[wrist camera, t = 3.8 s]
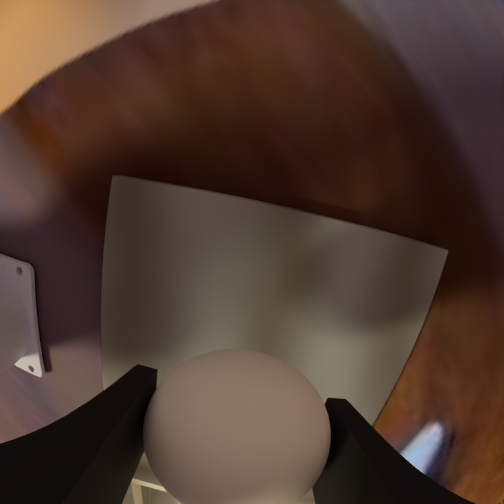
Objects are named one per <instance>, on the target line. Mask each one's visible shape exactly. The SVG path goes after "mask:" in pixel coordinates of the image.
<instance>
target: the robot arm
mask: <svg viewBox="0 0 504 504" xmlns="http://www.w3.org/2000/svg"><path fill="white" fill-rule="evenodd" d="M20 268H21V270H22V272H21V270H20ZM13 365H16V366H18V367H20V368H21V369H23V370H25V371H27V372H29V373H32V374H34V375H36V376H38V377H42V376H43V375H44V374H45V369H44V364H43V358H42V352H41V345H40V338H39V330H38V320H37V310H36V297H35V277H34V269H33V267H32V266H31V265H30V264H29V263H26V262H23V261H20V260H17V259H14V258H11V257H8V256H6V255H3V254H0V378H1V377H2V376H3V375H4V374H5V373H6V372H7V371H8V370H9V369H10V368H11V367H12V366H13ZM157 373H158V369H155V368H151V367H147V366H143V365H140V364H137V365H135V366H134V367H133V368H131V369H130V370H129V371H128V372H127V373H125V374H124V375H123V376H122V377H120V378H119V379H118V380H117V381H115V382H114V383H113V384H112V385H110V386H109V387H108V388H106V389H105V390H104V391H102V392H101V393H99V394H98V395H97V396H95V397H94V398H93V399H91V400H90V401H88V402H87V403H85V404H84V405H82V406H81V407H79V408H77V409H76V410H74V411H72V412H71V413H69V414H68V415H66V416H64V417H63V418H61V419H59V420H57V421H55V422H53V423H51V424H49V425H47V426H45V427H43V428H41V429H39V430H37V431H34V432H32V433H29V434H27V435H24V436H22V437H19V438H16V439H14V440H11V441H8V442H4V443H1V444H0V504H122V503H123V500H124V498H125V495H126V493H127V490H128V488H129V486H130V483H131V481H132V479H133V476H134V474H135V472H136V469H137V467H138V465H139V462H140V460H141V458H142V455H143V453H144V451H145V450H144V443H143V425H144V417H145V413H146V410H147V407H148V404H149V401H150V400H151V398H152V396H153V394H154V392H155V391H156V389H157ZM324 405H325V408H326V410H327V413H328V417H329V422H330V428H331V443H330V450H329V455H328V459H327V462H326V464H325V467H324V469H323V471H322V473H321V475H320V477H319V478H318V480H317V481H316V483H315V484H314V486H313V487H312V489H313V494H314V499H315V504H475V503H473V502H470V501H468V500H466V499H464V498H462V497H460V496H458V495H456V494H454V493H453V492H451V491H449V490H447V489H445V488H444V487H442V486H441V485H439V484H437V483H436V482H434V481H433V480H432V479H430V478H429V477H427V476H426V475H425V474H423V473H422V472H420V471H419V470H418V469H417V468H415V467H414V466H413V465H412V464H411V463H409V462H408V461H407V460H406V459H405V458H404V457H403V456H401V455H400V454H399V453H398V452H397V451H396V450H395V449H394V448H393V447H392V446H391V445H390V444H389V443H388V442H387V441H386V440H385V439H384V438H383V437H382V436H381V435H380V434H379V433H378V432H377V431H376V430H375V429H374V428H373V427H372V426H371V425H370V424H369V423H368V422H367V421H366V419H365V418H364V417H363V416H362V415H361V414H360V413H359V412H358V411H357V410H356V409H355V408H354V407H353V406H352V404H351V403H350V402H349V401H347V400H346V399H341V398H327V400H326V402H325V404H324Z"/></svg>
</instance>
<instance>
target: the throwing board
mask: <svg viewBox="0 0 504 504" xmlns="http://www.w3.org/2000/svg"><path fill="white" fill-rule="evenodd" d="M447 254H448V250H445V249H443V248H441V247H439V246H436V245H432V244H429V243H425V242H422V241H418V240H415V239H411V238H408V237H404V236H401V235H397V234H393V233H390V232H386V231H382V230H379V229H375V228H371V227H367V226H364V225H360V224H356V223H352V222H348V221H344V220H340V219H336V218H332V217H328V216H324V215H320V214H315V213H311V212H307V211H303V210H298V209H294V208H290V207H285V206H281V205H276V204H272V203H267V202H262V201H258V200H253V199H248V198H244V197H239V196H234V195H229V194H224V193H219V192H214V191H209V190H203V189H198V188H193V187H187V186H182V185H176V184H171V183H165V182H159V181H153V180H147V179H141V178H135V177H129V176H122V175H118V176H113V177H112V183H111V190H110V197H109V204H108V212H107V221H106V230H105V241H104V253H103V269H102V291H101V349H102V371H103V385H104V390H105V389H106V388H108V387H109V386H110V385H112V384H113V383H114V382H115V381H117V380H118V379H119V378H120V377H122V376H123V375H124V374H125V373H127V372H128V371H129V370H130V369H131V368H133V367H134V366H135V365H137V364H140V365H143V366H147V367H151V368H155V369H158V373H157V387H158V386H159V385H160V384H161V383H162V381H163V380H164V379H165V378H166V377H167V376H168V375H169V374H170V373H171V372H172V371H173V370H175V369H176V368H177V367H179V366H180V365H182V364H183V363H185V362H186V361H188V360H190V359H193V358H195V357H197V356H200V355H202V354H205V353H209V352H212V351H218V350H225V349H246V350H254V351H258V352H263V353H266V354H269V355H272V356H274V357H276V358H278V359H281V360H283V361H285V362H286V363H288V364H290V365H291V366H293V367H294V368H296V369H297V370H298V371H299V372H300V373H302V374H303V375H304V376H305V377H306V378H307V379H308V380H309V381H310V382H311V384H312V385H313V386H314V387H315V389H316V390H317V392H318V393H319V395H320V397H321V398H322V400H323V403H324V404H325V402H326V400H327V398H341V399H346V400H347V401H349V402H350V403H351V404H352V406H353V407H354V408H355V409H356V410H357V411H358V412H359V413H360V414H361V415H362V416H363V417H364V418H365V419H366V421H367V422H368V423H369V424H370V425H371V426H372V425H373V423H374V422H375V420H376V418H377V416H378V415H379V413H380V411H381V410H382V408H383V406H384V404H385V402H386V401H387V399H388V397H389V395H390V393H391V391H392V389H393V388H394V386H395V384H396V382H397V380H398V378H399V376H400V374H401V372H402V370H403V368H404V366H405V364H406V361H407V359H408V357H409V355H410V353H411V351H412V348H413V346H414V344H415V342H416V339H417V337H418V335H419V332H420V330H421V328H422V325H423V323H424V320H425V318H426V315H427V313H428V310H429V307H430V305H431V302H432V299H433V297H434V294H435V291H436V288H437V285H438V282H439V279H440V276H441V273H442V270H443V267H444V264H445V261H446V257H447ZM122 504H182V503H180V502H179V501H177V500H176V499H175V498H174V497H173V496H172V495H170V494H169V493H168V492H167V491H166V490H165V489H164V487H163V486H162V485H161V484H160V482H159V481H158V480H157V478H156V477H155V475H154V473H153V471H152V469H151V467H150V465H149V463H148V460H147V457H146V454H145V451H144V453H143V455H142V458H141V460H140V462H139V465H138V467H137V469H136V472H135V474H134V476H133V479H132V481H131V483H130V486H129V488H128V490H127V493H126V495H125V498H124V500H123V503H122ZM294 504H315V499H314V494H313V489H312V488H311V489H310V490H309V491H308V492H307V493H306V494H305V495H304V496H303V497H302V498H301V499H300V500H298V501H297V502H296V503H294Z"/></svg>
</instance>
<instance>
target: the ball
mask: <svg viewBox="0 0 504 504" xmlns="http://www.w3.org/2000/svg"><path fill="white" fill-rule="evenodd" d="M143 443H144V450H145V454H146V457H147V460H148V463H149V465H150V467H151V469H152V471H153V473H154V475H155V477H156V478H157V480H158V481H159V482H160V484H161V485H162V486H163V487H164V489H165V490H166V491H167V492H168V493H169V494H170V495H172V496H173V497H174V498H175V499H176V500H177V501H179V502H180V503H182V504H294V503H296V502H297V501H298V500H300V499H301V498H302V497H303V496H304V495H305V494H306V493H307V492H308V491H309V490H310V489H311V488H312V487H313V486H314V484H315V483H316V481H317V480H318V478H319V477H320V475H321V473H322V471H323V469H324V467H325V464H326V462H327V459H328V455H329V450H330V443H331V428H330V422H329V417H328V413H327V410H326V408H325V405H324V403H323V400H322V398H321V397H320V395H319V393H318V392H317V390H316V389H315V387H314V386H313V385H312V384H311V382H310V381H309V380H308V379H307V378H306V377H305V376H304V375H303V374H302V373H300V372H299V371H298V370H297V369H296V368H294V367H293V366H291V365H290V364H288V363H286V362H285V361H283V360H281V359H278V358H276V357H274V356H272V355H269V354H266V353H263V352H258V351H254V350H246V349H225V350H218V351H212V352H209V353H205V354H202V355H200V356H197V357H195V358H193V359H190V360H188V361H186V362H185V363H183V364H182V365H180V366H179V367H177V368H176V369H175V370H173V371H172V372H171V373H170V374H169V375H168V376H167V377H166V378H165V379H164V380H163V381H162V383H161V384H160V385H159V386H158V387H157V389H156V391H155V392H154V394H153V396H152V398H151V400H150V401H149V404H148V407H147V410H146V413H145V417H144V425H143Z"/></svg>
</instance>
